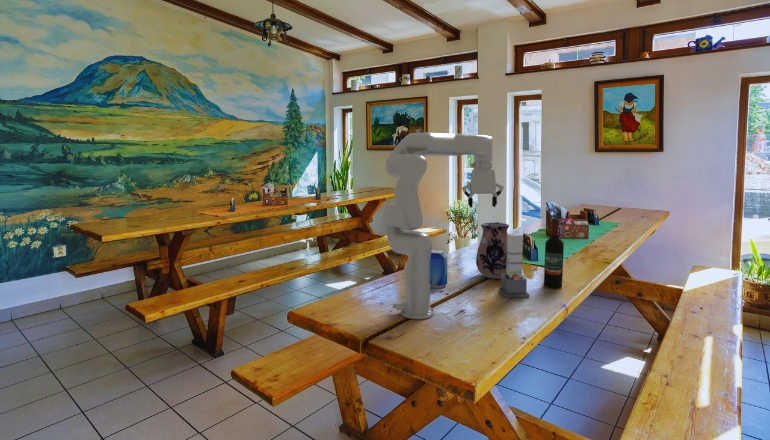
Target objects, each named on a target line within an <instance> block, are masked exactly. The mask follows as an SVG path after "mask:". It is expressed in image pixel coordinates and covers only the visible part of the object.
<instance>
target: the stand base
mask: <svg viewBox="0 0 770 440" xmlns="http://www.w3.org/2000/svg"><path fill="white" fill-rule="evenodd" d="M500 282H501V283H500V285H501V286H498V292H499V293H500V294H501V296H502V297H503V299H528V298H530V294H529V293H528V291H527V288H528V286H527V283H528V279H527V278H526V276H524V275H523V274H522V278H520V276H519V275H515V276H513V279H510V278H509V277H508V276H507V275H506V274H502V275H501V281H500Z"/></svg>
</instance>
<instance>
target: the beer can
mask: <svg viewBox="0 0 770 440" xmlns="http://www.w3.org/2000/svg"><path fill="white" fill-rule="evenodd" d="M447 285H448V255H447V253H446V250H444V249H437V248H436V249H435V248H434V249H432V251H431V257H430V287H432V288H435V289H441V288H445V287H446V286H447Z"/></svg>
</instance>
